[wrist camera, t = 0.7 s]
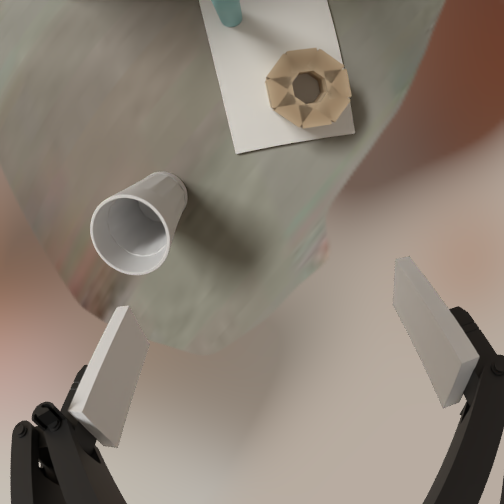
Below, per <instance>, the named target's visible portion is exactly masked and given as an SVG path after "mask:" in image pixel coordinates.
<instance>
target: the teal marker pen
mask: <svg viewBox="0 0 504 504" xmlns="http://www.w3.org/2000/svg"><path fill="white" fill-rule="evenodd" d="M211 1H212V3H213V5H214V7H215V10H216V12H217V14H218V16H219V18H220V20H221V22H222V24H223V25H225V26H227V27H235V26H237V25H239V24H240V23H241V21H242V12H241V6H240V0H211Z"/></svg>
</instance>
